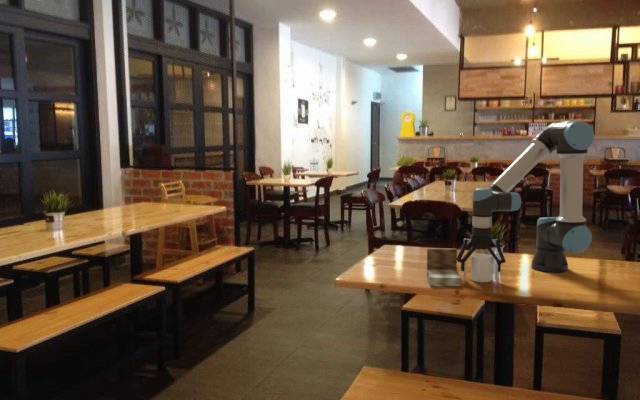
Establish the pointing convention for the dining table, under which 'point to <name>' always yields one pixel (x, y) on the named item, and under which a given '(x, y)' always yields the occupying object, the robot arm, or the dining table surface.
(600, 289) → the dining table surface
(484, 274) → the mug
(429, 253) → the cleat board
